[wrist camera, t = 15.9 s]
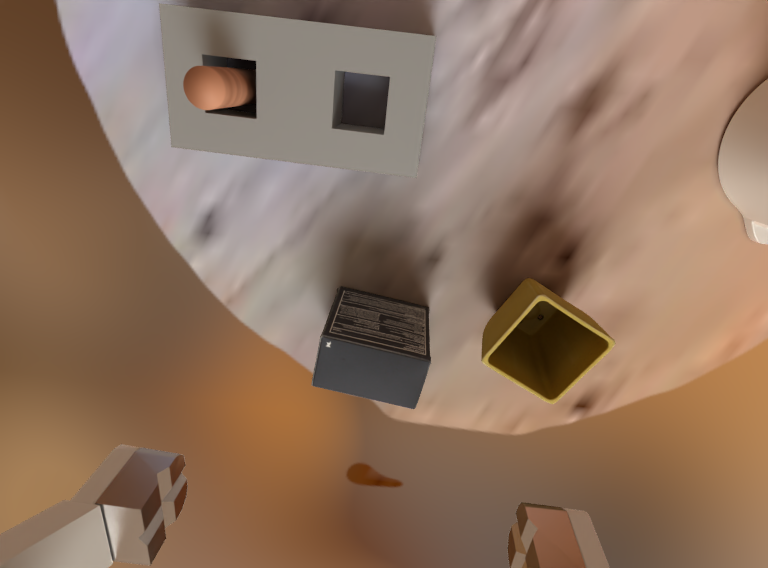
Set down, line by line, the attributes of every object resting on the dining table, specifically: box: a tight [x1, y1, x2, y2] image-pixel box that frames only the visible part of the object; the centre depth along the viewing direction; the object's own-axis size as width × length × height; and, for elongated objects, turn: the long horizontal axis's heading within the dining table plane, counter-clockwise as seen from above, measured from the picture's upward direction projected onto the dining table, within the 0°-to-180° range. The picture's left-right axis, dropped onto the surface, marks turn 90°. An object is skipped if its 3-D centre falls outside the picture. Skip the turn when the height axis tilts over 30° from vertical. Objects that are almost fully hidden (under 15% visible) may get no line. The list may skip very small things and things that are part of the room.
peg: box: [183, 66, 257, 110], centre depth 38 cm, size 3×3×10 cm
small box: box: [312, 286, 431, 409], centre depth 47 cm, size 11×6×10 cm, turn 78°
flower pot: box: [482, 278, 615, 404], centre depth 45 cm, size 9×9×9 cm
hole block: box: [159, 3, 436, 178], centre depth 40 cm, size 22×11×5 cm, turn 84°
